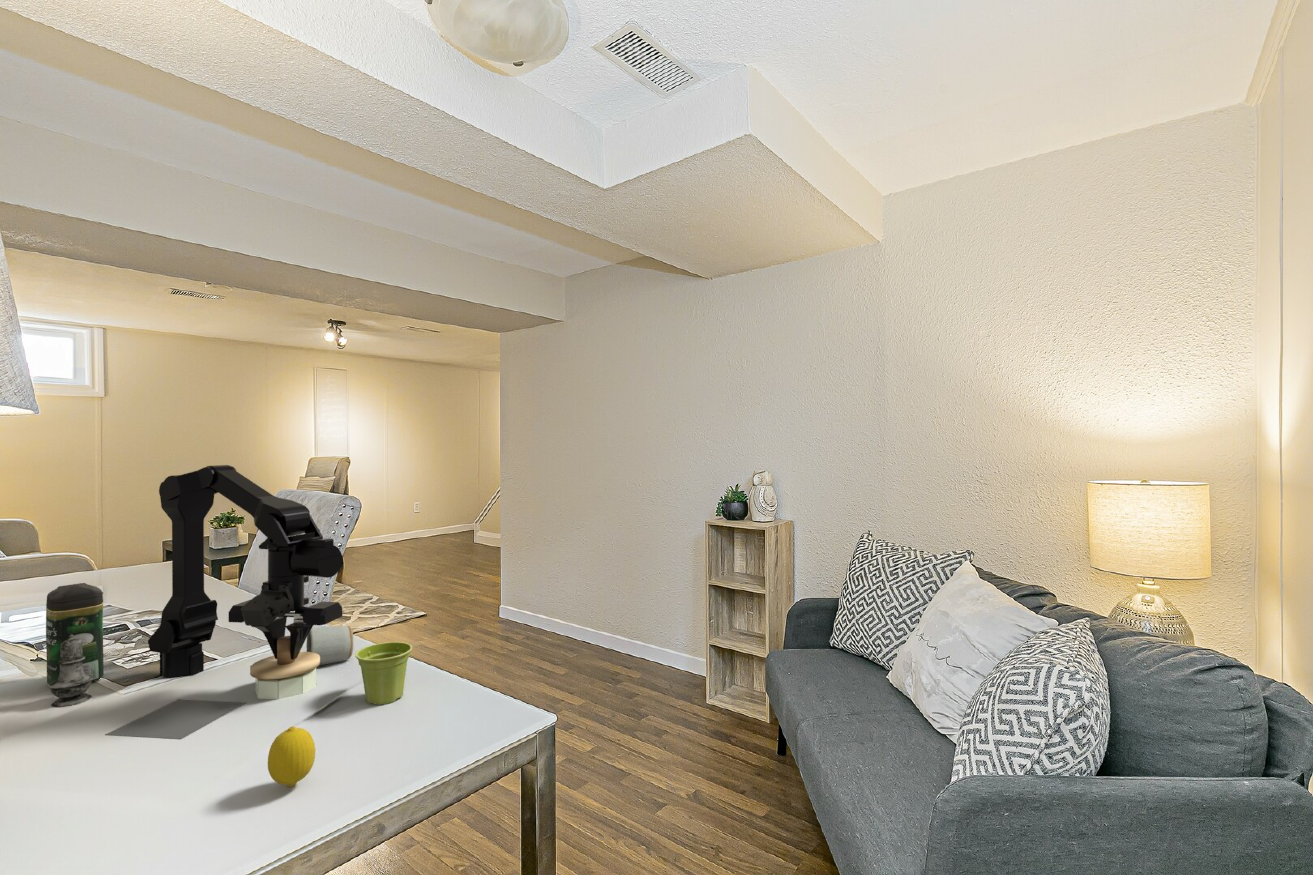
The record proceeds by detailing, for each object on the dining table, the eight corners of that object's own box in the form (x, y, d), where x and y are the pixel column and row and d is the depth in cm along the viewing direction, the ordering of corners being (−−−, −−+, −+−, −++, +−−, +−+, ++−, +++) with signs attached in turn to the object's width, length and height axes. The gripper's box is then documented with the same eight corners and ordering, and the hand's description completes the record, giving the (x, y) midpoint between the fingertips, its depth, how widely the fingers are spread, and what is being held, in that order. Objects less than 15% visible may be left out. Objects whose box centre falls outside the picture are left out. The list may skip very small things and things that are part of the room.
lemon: (281, 776, 86) (281, 718, 86) (322, 774, 86) (322, 716, 86) (258, 799, 80) (258, 737, 80) (303, 797, 80) (303, 735, 80)
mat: (104, 740, 95) (104, 734, 95) (178, 704, 108) (178, 699, 108) (181, 745, 94) (181, 738, 94) (246, 708, 107) (246, 702, 107)
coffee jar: (42, 681, 119) (42, 585, 119) (97, 669, 125) (97, 578, 125) (50, 694, 113) (50, 593, 113) (107, 681, 119) (107, 585, 119)
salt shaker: (101, 696, 112) (101, 630, 112) (61, 710, 106) (61, 640, 106) (80, 692, 114) (80, 627, 114) (40, 705, 108) (40, 637, 108)
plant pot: (356, 713, 105) (356, 662, 105) (354, 693, 113) (354, 646, 113) (415, 702, 109) (414, 653, 109) (409, 684, 117) (409, 638, 117)
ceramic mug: (355, 663, 128) (355, 626, 129) (310, 671, 124) (310, 633, 124) (345, 650, 137) (344, 615, 137) (302, 657, 132) (302, 621, 132)
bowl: (243, 702, 109) (243, 680, 109) (281, 682, 118) (280, 661, 118) (292, 705, 108) (292, 682, 108) (325, 684, 117) (325, 663, 117)
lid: (234, 677, 108) (234, 647, 108) (279, 655, 119) (279, 627, 119) (293, 680, 107) (293, 649, 107) (332, 657, 118) (332, 629, 118)
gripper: (202, 582, 106) (202, 673, 106) (304, 585, 104) (303, 677, 104) (252, 568, 117) (251, 650, 117) (344, 571, 115) (344, 654, 115)
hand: (286, 658), depth 113 cm, fingers closed on lid, 3 cm apart
